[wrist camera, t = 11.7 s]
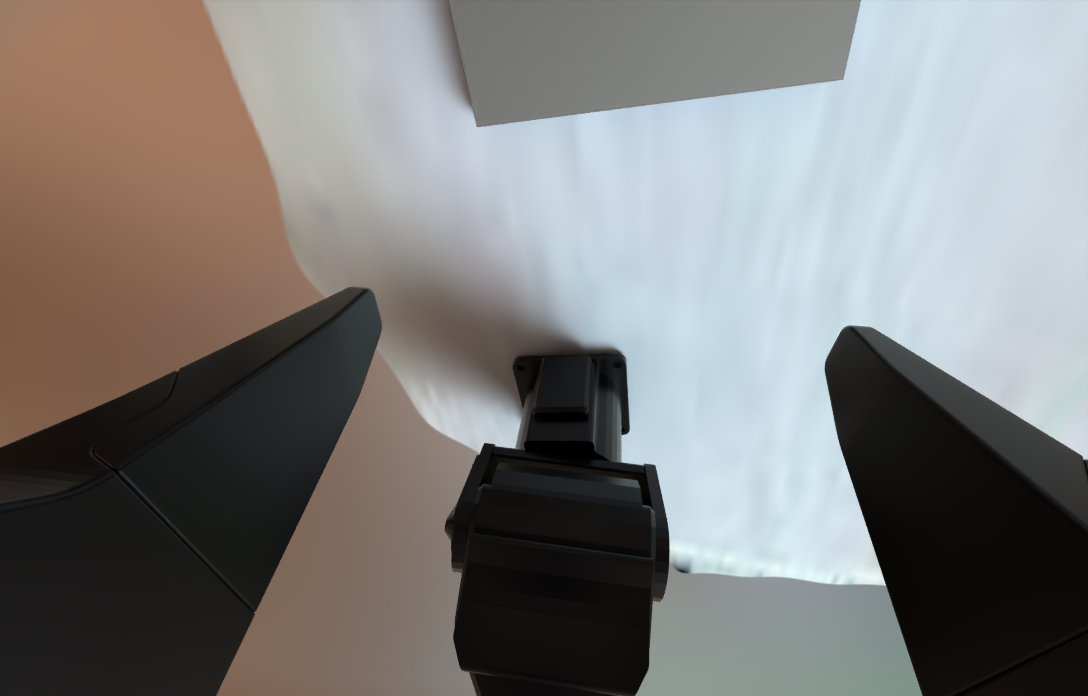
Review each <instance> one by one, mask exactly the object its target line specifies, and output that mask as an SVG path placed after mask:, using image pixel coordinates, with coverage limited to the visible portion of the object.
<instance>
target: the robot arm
mask: <svg viewBox="0 0 1088 696" xmlns="http://www.w3.org/2000/svg"><path fill="white" fill-rule="evenodd" d="M381 329H382V322H381V318H380V314H379V311H378V307H377V303H376V299H375V296H374V293H373V292H372V290H370V289H369V288H360V287H349V288H346V289H344V290H342V291H340V292H338V293H336V294H334V295H332V296H330V297H328V298H326V299H324V300H322V301H319V302H317V303H315V304H313V305H311V306H309V307H307V308H305V309H303V310H301V311H299V312H297V313H295V314H292V315H290V316H289V317H286V318H284V319H282V320H280V321H278V322H276V323H274V324H272V325H270V326H268V327H266V328H263V329H261V330H259V331H257V332H255V333H253V334H251V335H249V336H247V337H245V338H243V339H241V340H238V341H236V342H234V343H232V344H230V345H228V346H226V347H224V348H222V349H220V350H218V351H216V352H214V353H211V354H210V355H207V356H205V357H203V358H201V359H199V360H197V361H195V362H193V363H191V364H189V365H186V366H184V367H182V368H180V369H179V372H178V371H174V372H171V373H170V374H167V375H165V376H163V377H161V378H159V379H157V380H155V381H153V382H151V383H149V384H146V385H144V386H142V387H140V388H138V389H136V390H133V391H131V392H129V393H127V394H125V395H123V396H121V397H118V398H116V399H114V400H112V401H109V402H107V403H104V404H102V405H100V406H97V407H95V408H93V409H91V410H88V411H86V412H84V413H81V414H79V415H77V416H74V417H72V418H70V419H67V420H65V421H62V422H60V423H58V424H55V425H53V426H50V427H48V428H46V429H44V430H41V431H39V432H36V433H34V434H32V435H29V436H27V437H24V438H22V439H20V440H17V441H15V442H12V443H10V444H8V445H5V446H3V447H1V448H0V696H216V695H217V693H218V691H219V688H220V686H221V684H222V682H223V680H224V678H225V676H226V674H227V672H228V670H229V667H230V665H231V663H232V661H233V659H234V657H235V655H236V653H237V651H238V649H239V647H240V645H241V643H242V640H243V638H244V636H245V634H246V632H247V630H248V628H249V626H250V623H251V622H252V620H253V617H254V615H255V613H254V612H255V611H256V610H257V608H258V606H259V604H260V602H261V600H262V598H263V596H264V594H265V592H266V590H267V587H268V585H269V583H270V581H271V579H272V577H273V575H274V573H275V571H276V569H277V567H278V565H279V562H280V560H281V558H282V556H283V554H284V552H285V550H286V548H287V546H288V544H289V541H290V539H291V537H292V535H293V533H294V531H295V529H296V527H297V525H298V523H299V520H300V519H301V516H302V514H303V512H304V510H305V508H306V506H307V504H308V502H309V500H310V498H311V495H312V494H313V491H314V489H315V487H316V485H317V483H318V481H319V479H320V477H321V475H322V473H323V471H324V468H325V466H326V464H327V462H328V460H329V458H330V456H331V454H332V452H333V450H334V448H335V445H336V443H337V441H338V439H339V437H340V435H341V433H342V431H343V429H344V427H345V425H346V423H347V420H348V418H349V416H350V414H351V412H352V410H353V408H354V406H355V403H356V401H357V399H358V397H359V395H360V392H361V390H362V387H363V384H364V381H365V378H366V376H367V373H368V369H369V367H370V363H371V361H372V358H373V355H374V352H375V349H376V346H377V343H378V340H379V337H380V334H381ZM614 362H620V363H618V364H616V363H614ZM520 364H521V365H524V366H520ZM513 371H514V375H515V378H516V382H517V386H518V390H519V394H520V398H521V402H522V406H523V414H522V419H521V424H520V429H519V433H518V438H517V443H516V448H515V449H513V448H505V447H498V446H495V444H488V443H484V445H483V448H482V450H481V453H480V455H477V456H476V459H475V461H474V464H473V465H472V469H471V471H470V473H469V476H468V478H467V481H466V483H465V486H464V488H463V490H462V493H461V495H460V498H459V500H458V502H457V504H456V506H455V507H454V509H453V510H452V512H451V513H450V515H449V516H448V518H447V520H446V524H445V532H446V534H447V536H448V537H449V539H450V540H451V551H452V559H451V563H452V569H453V572H460V573H462V577H461V584H460V590H459V596H458V603H457V610H456V616H455V630H454V636H453V639H454V644H455V649H456V653H457V657H458V662H459V665H460V668H461V670H462V671H467V672H469V673H470V676H471V679H472V682H473V685H474V688H475V691H476V695H477V696H635V695H636V693H637V691H638V689H639V687H640V685H641V683H642V681H643V679H644V677H645V675H646V673H647V671H648V668H649V647H650V633H651V618H652V617H651V616H652V603H653V601H658V602H660V601H661V600H662V599H663V596H664V593H665V589H666V585H667V578H668V570H669V530H668V523H667V517H666V513H665V508H664V503H663V499H662V494H661V489H660V485H659V480H658V475H657V471H656V466H655V465H651V464H644V465H637V464H629V463H621V435H625V434H627V433H628V432H629V430H630V424H629V405H628V386H627V367H626V358H625V357H624V356H623V355H621V354H588V355H558V356H528V357H517V358H516V359H515V360H514V363H513ZM825 375H826V380H827V385H828V390H829V396H830V401H831V406H832V411H833V416H834V421H835V426H836V431H837V435H838V440H839V443H840V447H841V450H842V453H843V456H844V459H845V462H846V465H847V468H848V471H849V474H850V477H851V480H852V483H853V487H854V490H855V493H856V496H857V499H858V502H859V505H860V508H861V511H862V514H863V517H864V520H865V523H866V526H867V529H868V532H869V535H870V538H871V541H872V544H873V547H874V550H875V553H876V556H877V559H878V562H879V565H880V568H881V571H882V574H883V577H884V580H885V584H886V587H887V589H888V592H889V596H890V599H891V602H892V605H893V608H894V611H895V614H896V617H897V620H898V623H899V626H900V629H901V632H902V635H903V638H904V641H905V644H906V647H907V650H908V653H909V656H910V659H911V662H912V665H913V668H914V671H915V674H916V677H917V680H918V684H919V687H920V690H921V692H922V696H1088V460H1083V457H1082V456H1081V455H1080V454H1078V453H1077V452H1075V451H1073V450H1072V449H1070V448H1069V447H1067V446H1065V445H1064V444H1062V443H1060V442H1059V441H1057V440H1055V439H1054V438H1052V437H1050V436H1049V435H1047V434H1046V433H1044V432H1042V431H1041V430H1039V429H1037V428H1036V427H1034V426H1032V425H1031V424H1029V423H1028V422H1026V421H1024V420H1023V419H1021V418H1019V417H1018V416H1016V415H1014V414H1013V413H1011V412H1010V411H1008V410H1006V409H1005V408H1003V407H1001V406H1000V405H998V404H997V403H995V402H993V401H992V400H990V399H988V398H987V397H985V396H983V395H982V394H980V393H979V392H977V391H975V390H974V389H972V388H970V387H969V386H967V385H965V384H964V383H962V382H961V381H959V380H957V379H956V378H954V377H952V376H951V375H949V374H947V373H946V372H944V371H943V370H941V369H939V368H938V367H936V366H934V365H933V364H931V363H929V362H928V361H926V360H925V359H923V358H921V357H920V356H918V355H916V354H915V353H913V352H911V351H910V350H908V349H907V348H905V347H903V346H902V345H900V344H898V343H897V342H895V341H893V340H892V339H890V338H889V337H887V336H885V335H884V334H882V333H880V332H879V331H877V330H875V329H874V328H871V327H865V326H851V325H850V326H846V327H844V328H843V329H842V331H841V332H840V334H839V336H838V338H837V340H836V341H835V343H834V345H833V347H832V349H831V351H830V353H829V355H828V356H827V359H826V362H825ZM621 427H622V428H621Z"/></svg>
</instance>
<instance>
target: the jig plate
mask: <svg viewBox="0 0 1088 696" xmlns="http://www.w3.org/2000/svg"><path fill="white" fill-rule="evenodd" d="M448 1H449V5H450V10H451V14H452V18H453V23H454V27H455V32H456V36H457V41H458V45H459V50H460V54H461V59H462V63H463V68H464V72H465V76H466V81H467V85H468V90H469V94H470V99H471V103H472V108H473V112H474V117H475V121H476V125H477V127H482V126H490V125H498V124H505V123H513V122H521V121H529V120H536V119H544V118H552V117H559V116H567V115H575V114H582V113H590V112H598V111H606V110H613V109H621V108H629V107H636V106H644V105H652V104H660V103H667V102H675V101H683V100H690V99H698V98H706V97H713V96H721V95H729V94H737V93H744V92H752V91H760V90H767V89H775V88H783V87H790V86H798V85H806V84H814V83H821V82H829V81H837V80H843V78H844V74H845V69H846V65H847V60H848V56H849V51H850V47H851V42H852V38H853V33H854V29H855V24H856V20H857V15H858V11H859V6H860V2H861V0H448Z"/></svg>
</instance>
